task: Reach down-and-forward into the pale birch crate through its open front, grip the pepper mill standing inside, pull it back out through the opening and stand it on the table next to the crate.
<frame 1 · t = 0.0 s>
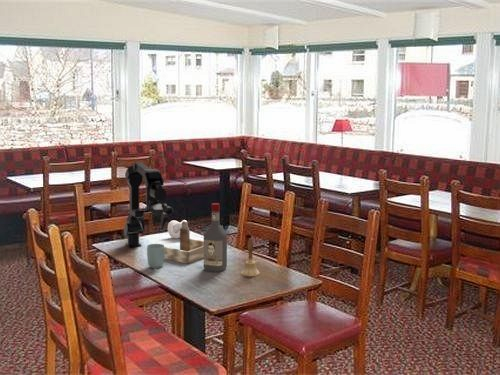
hand: (152, 229, 289), 15 cm above the table, tool pointing down, fingers open, 9 cm apart
cup: (156, 267, 280), on the table
white knot sculpture: (179, 237, 334), on the table
liquor: (215, 269, 279), on the table
crate: (188, 256, 297), on the table
pepper mill: (184, 255, 298), point 1 cm above the table, touching crate
hand bell: (250, 274, 273), on the table
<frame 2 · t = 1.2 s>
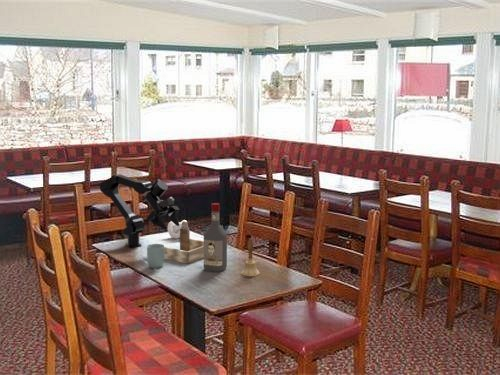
hand: (172, 227, 300), 13 cm above the table, tool tilted 45°, fingers open, 9 cm apart
nothing on the table moved.
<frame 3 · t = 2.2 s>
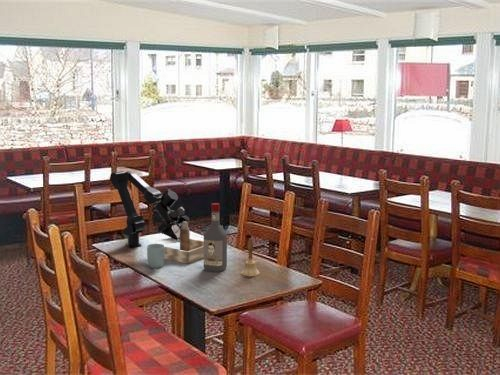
hand: (183, 237, 297), 9 cm above the table, tool tilted 45°, fingers open, 9 cm apart
nothing on the table moved.
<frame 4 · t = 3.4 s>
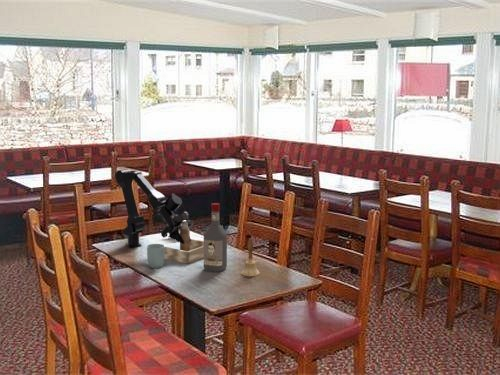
hand: (187, 242, 296), 7 cm above the table, tool tilted 45°, fingers closed on pepper mill, 5 cm apart
pepper mill: (184, 255, 298), point 1 cm above the table, touching crate, gripper
everything else where it was.
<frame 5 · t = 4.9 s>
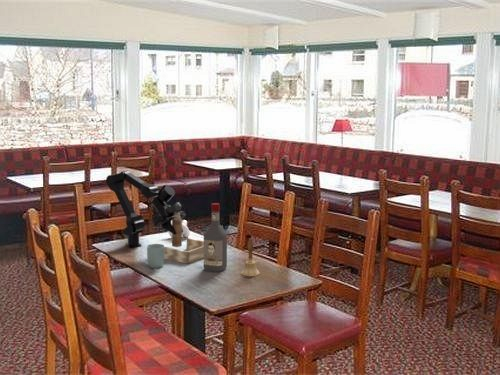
hand: (179, 233, 298), 11 cm above the table, tool tilted 45°, fingers closed on pepper mill, 5 cm apart
pepper mill: (176, 245, 300), point 4 cm above the table, touching gripper
everything else where it was.
when the fingers open (8 cm above the table, at t = 6.5 s): pepper mill drops 2 cm, on the table.
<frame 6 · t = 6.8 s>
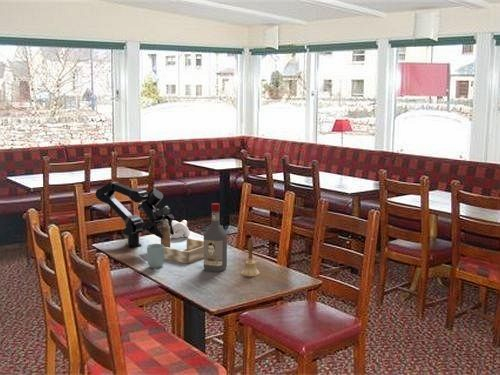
hand: (167, 236, 302), 8 cm above the table, tool tilted 45°, fingers open, 8 cm apart
pepper mill: (165, 252, 304), on the table
everything else where it was.
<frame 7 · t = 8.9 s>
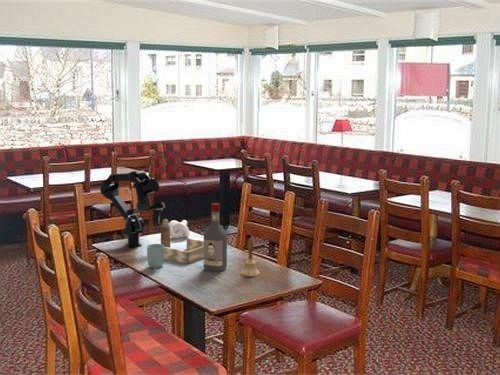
hand: (149, 226, 306), 12 cm above the table, tool tilted 20°, fingers open, 9 cm apart
nothing on the table moved.
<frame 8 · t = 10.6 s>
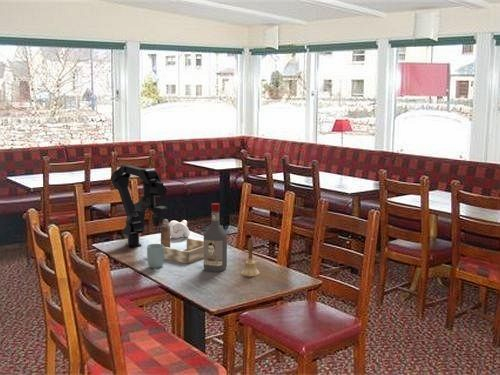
hand: (149, 225, 304), 13 cm above the table, tool pointing down, fingers open, 9 cm apart
nothing on the table moved.
at the end: pepper mill inside the target area (1.7 cm from its centre), on the table; pepper mill tilted 0°; the gripper is holding nothing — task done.
